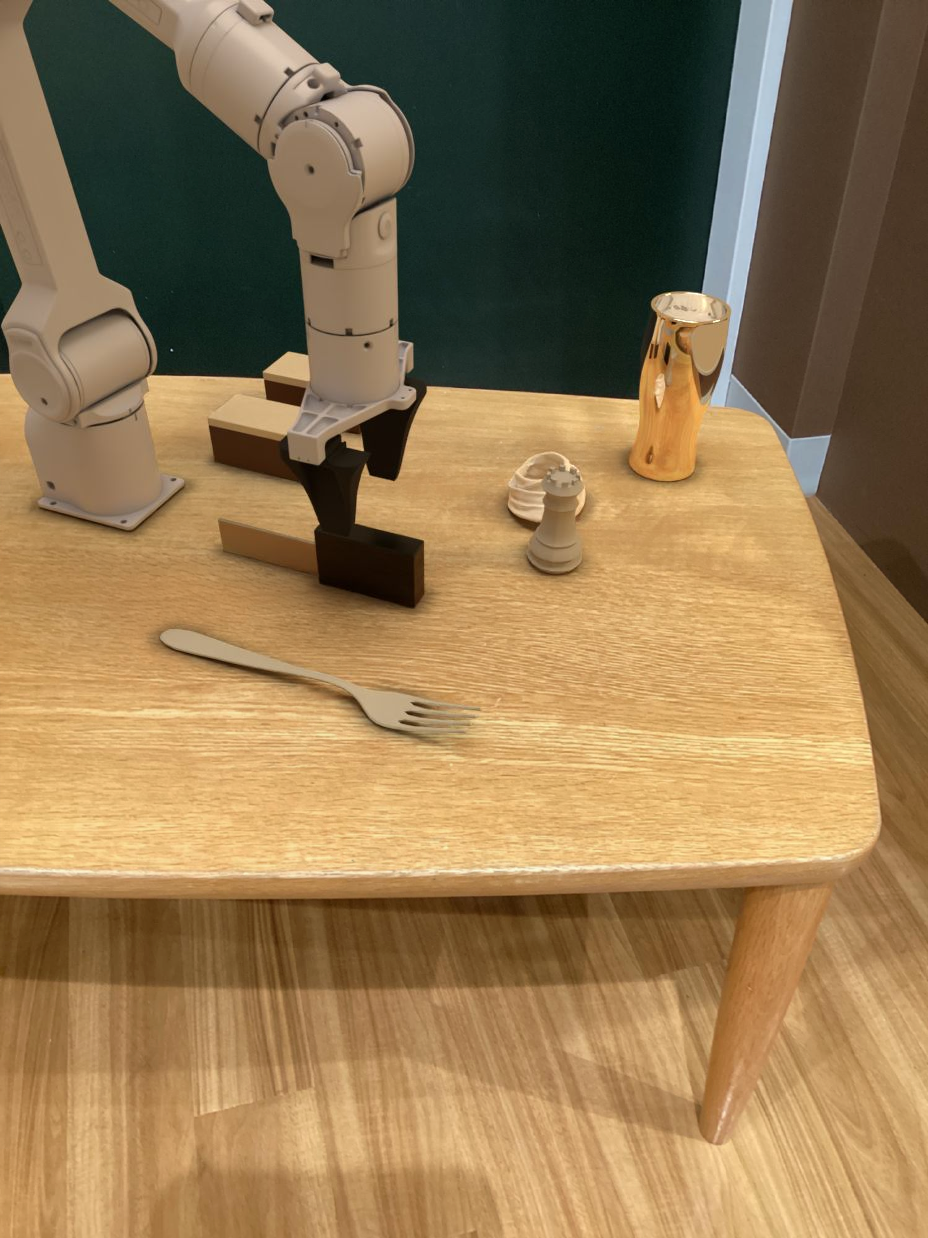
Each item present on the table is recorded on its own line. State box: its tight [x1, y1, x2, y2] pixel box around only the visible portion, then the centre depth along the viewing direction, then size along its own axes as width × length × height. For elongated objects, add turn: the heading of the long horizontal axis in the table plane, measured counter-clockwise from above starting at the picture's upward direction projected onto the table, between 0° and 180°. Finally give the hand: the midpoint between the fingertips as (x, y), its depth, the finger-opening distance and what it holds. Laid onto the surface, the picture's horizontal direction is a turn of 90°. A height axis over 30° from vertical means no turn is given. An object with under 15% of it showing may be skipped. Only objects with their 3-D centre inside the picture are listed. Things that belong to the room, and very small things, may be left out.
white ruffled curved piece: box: [507, 451, 587, 523], centre depth 78 cm, size 8×7×5 cm
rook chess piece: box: [526, 465, 585, 575], centre depth 71 cm, size 4×4×8 cm
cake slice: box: [262, 351, 361, 434], centre depth 90 cm, size 10×5×4 cm, turn 69°
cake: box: [206, 393, 300, 483], centre depth 83 cm, size 10×5×4 cm, turn 69°
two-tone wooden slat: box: [217, 517, 425, 609], centre depth 70 cm, size 17×2×5 cm, turn 69°
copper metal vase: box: [628, 290, 732, 482], centre depth 81 cm, size 7×7×15 cm
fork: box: [159, 628, 484, 735], centre depth 62 cm, size 3×24×2 cm, turn 67°
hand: (361, 502), depth 66 cm, fingers open, 7 cm apart
